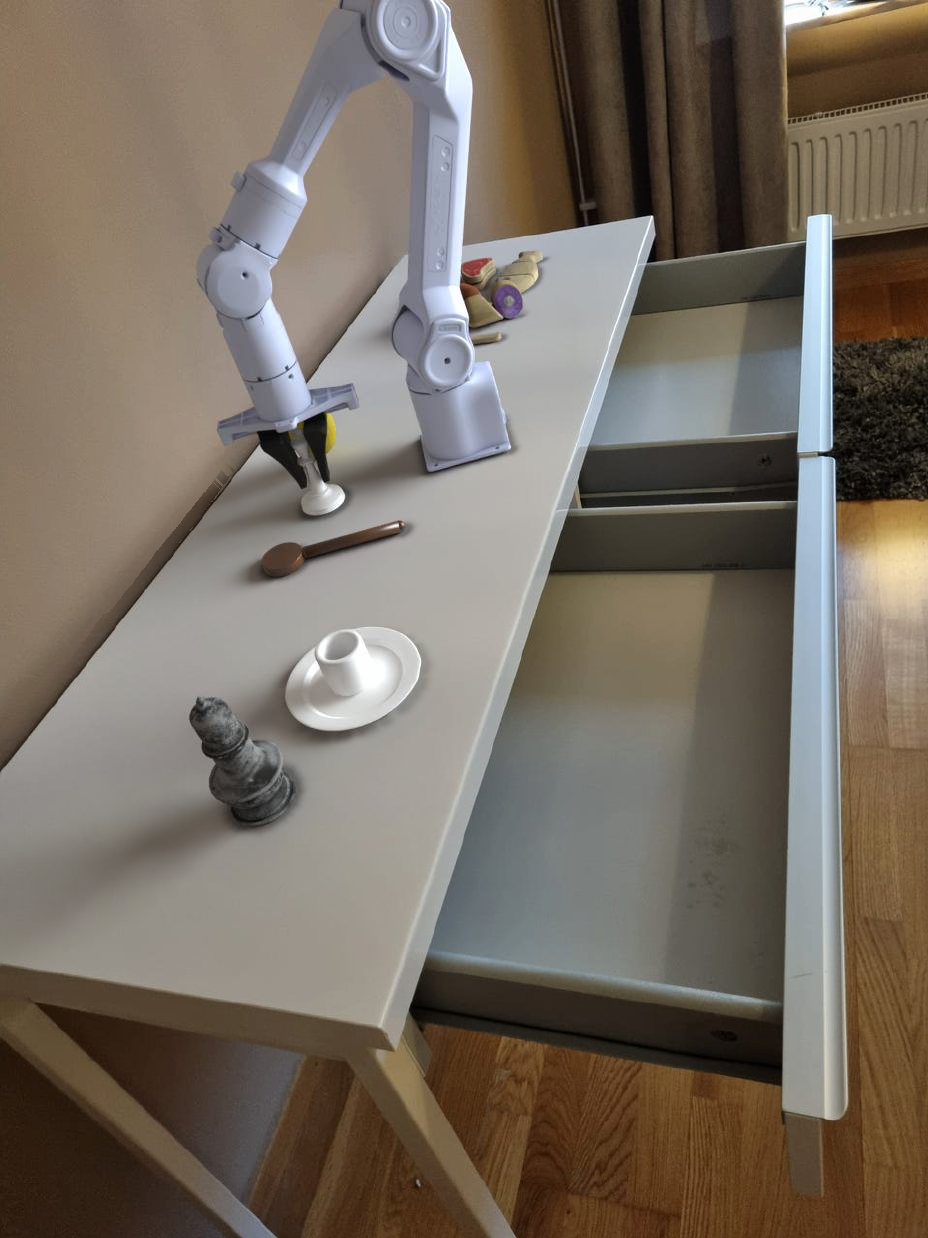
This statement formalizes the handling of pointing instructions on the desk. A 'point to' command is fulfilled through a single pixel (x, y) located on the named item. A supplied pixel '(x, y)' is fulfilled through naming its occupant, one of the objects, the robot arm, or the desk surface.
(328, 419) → the lemon
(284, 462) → the robot arm
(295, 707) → the candle holder
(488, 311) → the toy food set
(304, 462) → the chess piece
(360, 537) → the spoon
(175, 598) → the desk surface
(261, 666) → the desk surface
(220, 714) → the dark grey turned piece
